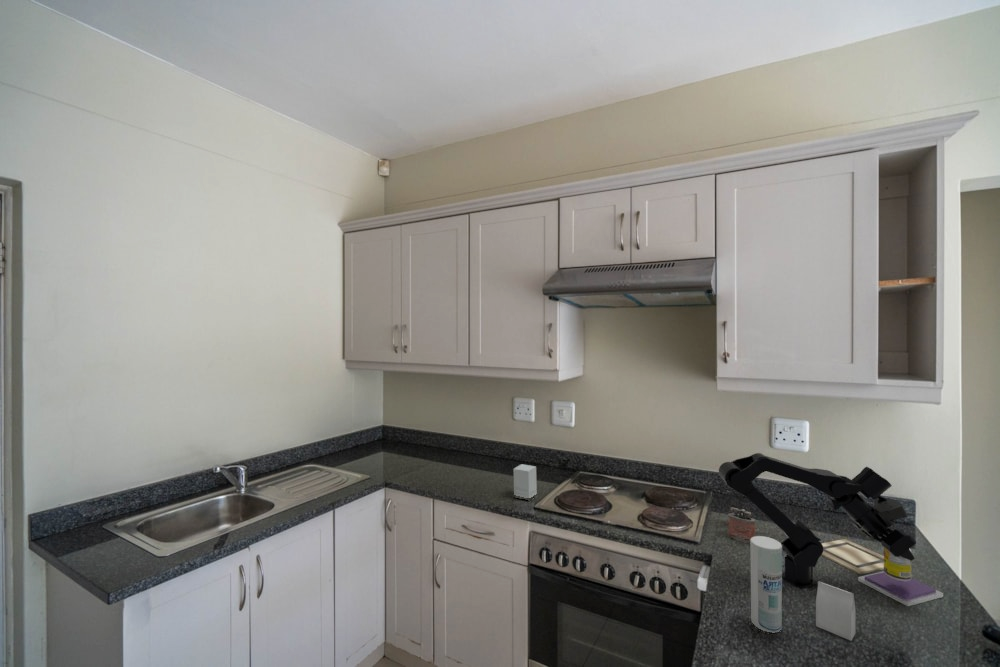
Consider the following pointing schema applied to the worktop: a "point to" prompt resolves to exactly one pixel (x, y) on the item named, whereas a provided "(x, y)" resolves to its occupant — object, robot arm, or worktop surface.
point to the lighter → (741, 525)
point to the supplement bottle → (897, 567)
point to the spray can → (766, 583)
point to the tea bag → (835, 610)
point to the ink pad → (901, 589)
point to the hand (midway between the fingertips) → (905, 553)
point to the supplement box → (525, 481)
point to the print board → (853, 556)
